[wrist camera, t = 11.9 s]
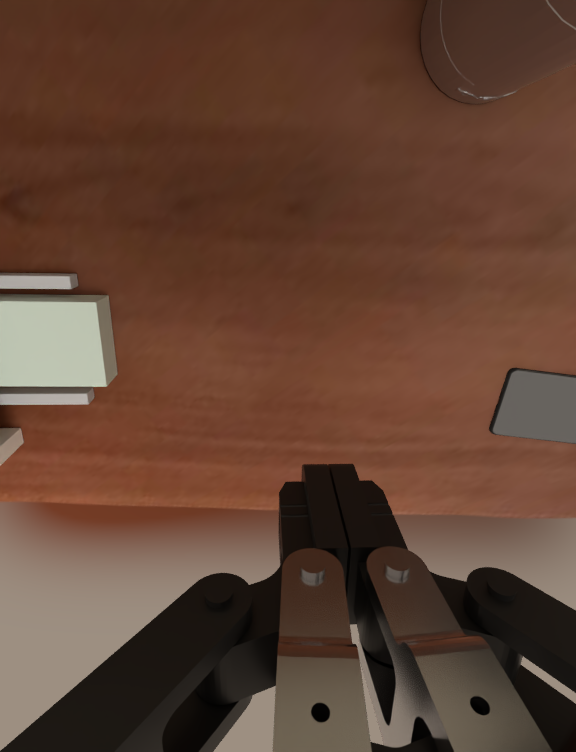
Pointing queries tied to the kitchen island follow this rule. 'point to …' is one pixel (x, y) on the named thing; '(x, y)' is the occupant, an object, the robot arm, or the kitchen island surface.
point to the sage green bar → (56, 341)
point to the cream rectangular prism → (10, 439)
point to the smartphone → (537, 406)
